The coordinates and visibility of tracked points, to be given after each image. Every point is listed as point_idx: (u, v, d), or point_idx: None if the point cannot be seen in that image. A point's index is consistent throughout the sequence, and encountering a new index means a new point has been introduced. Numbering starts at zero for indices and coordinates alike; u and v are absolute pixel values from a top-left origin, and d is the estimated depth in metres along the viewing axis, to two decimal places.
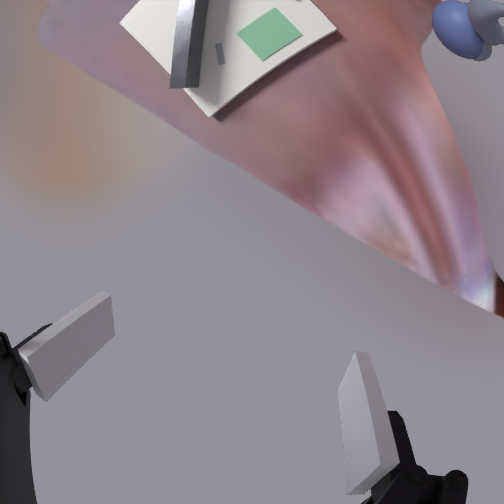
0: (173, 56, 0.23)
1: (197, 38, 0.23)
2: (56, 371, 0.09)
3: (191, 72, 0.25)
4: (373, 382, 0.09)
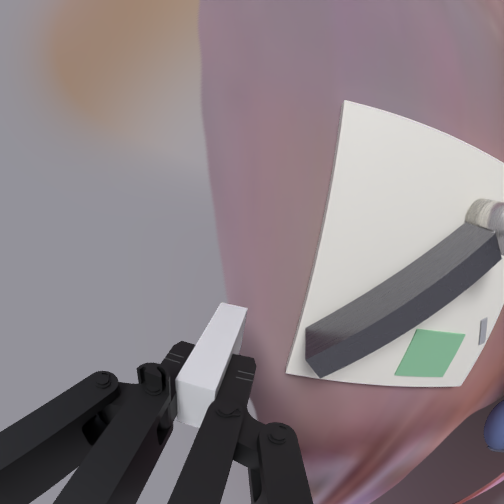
0: (363, 331, 0.15)
1: None
2: None
3: None
4: (233, 328, 0.12)
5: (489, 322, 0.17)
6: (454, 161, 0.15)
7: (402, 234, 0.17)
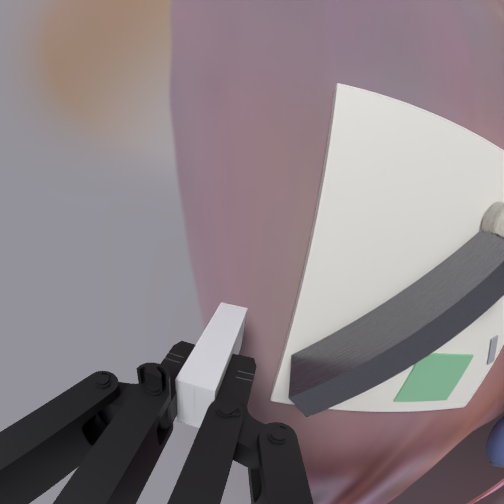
0: (358, 368, 0.12)
1: None
2: None
3: None
4: (233, 328, 0.12)
5: (499, 340, 0.14)
6: (468, 158, 0.12)
7: (408, 245, 0.14)
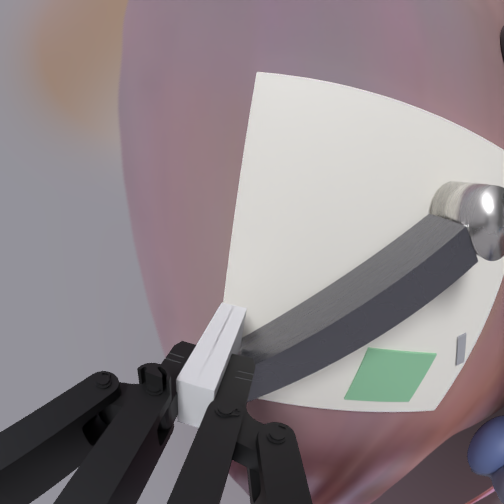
0: (272, 359, 0.12)
1: None
2: None
3: None
4: (233, 328, 0.12)
5: (469, 338, 0.15)
6: (410, 134, 0.12)
7: (338, 230, 0.15)
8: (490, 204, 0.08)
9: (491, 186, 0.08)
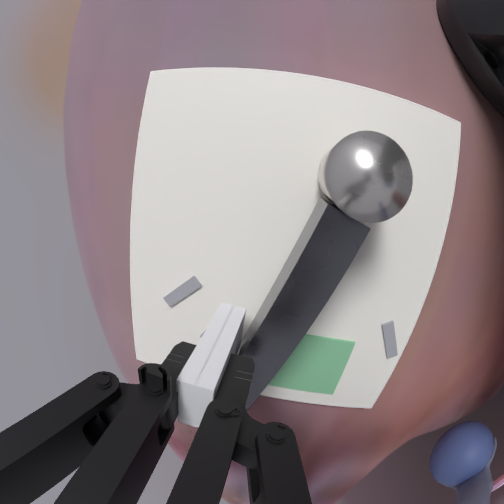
0: None
1: None
2: None
3: None
4: (232, 328, 0.12)
5: (400, 328, 0.15)
6: (291, 101, 0.13)
7: (216, 203, 0.15)
8: (347, 162, 0.09)
9: (338, 142, 0.09)
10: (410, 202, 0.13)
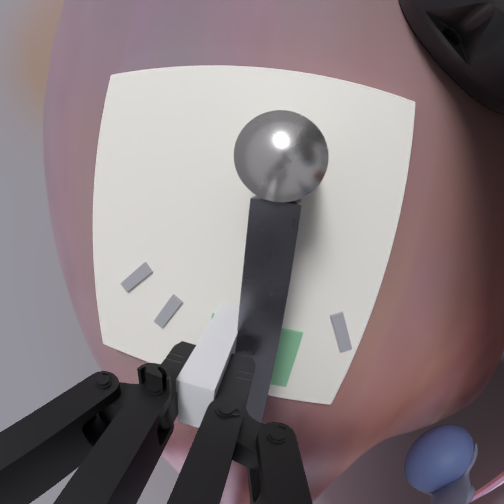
0: None
1: None
2: None
3: None
4: (233, 328, 0.12)
5: (352, 320, 0.16)
6: (229, 93, 0.13)
7: (161, 193, 0.16)
8: (252, 152, 0.10)
9: (237, 138, 0.10)
10: (354, 186, 0.14)
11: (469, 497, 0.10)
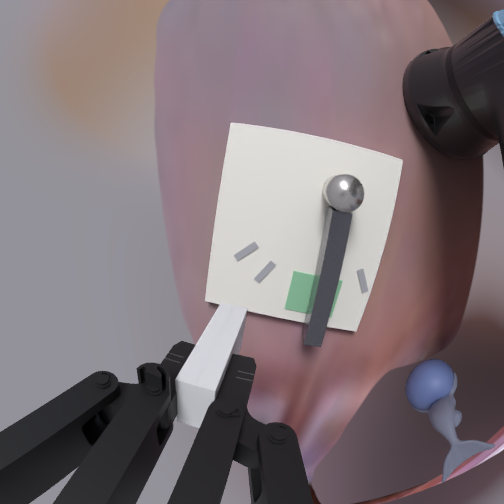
0: (312, 314, 0.28)
1: None
2: None
3: None
4: (233, 328, 0.12)
5: (368, 273, 0.30)
6: (310, 151, 0.28)
7: (269, 202, 0.30)
8: (335, 191, 0.24)
9: (329, 184, 0.24)
10: (369, 204, 0.28)
11: (457, 417, 0.24)
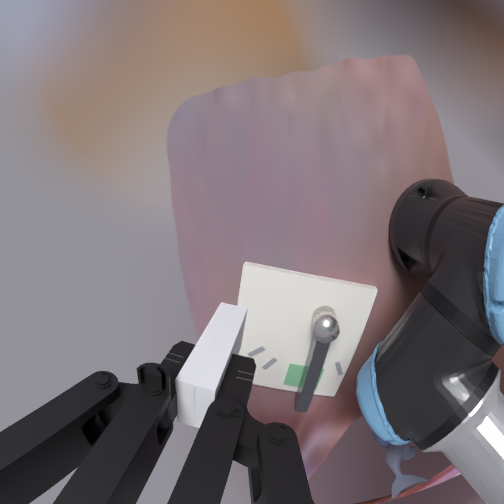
0: (301, 395, 0.38)
1: None
2: None
3: None
4: (233, 328, 0.12)
5: (343, 364, 0.40)
6: (304, 289, 0.38)
7: (273, 323, 0.40)
8: (318, 331, 0.34)
9: (315, 327, 0.34)
10: (347, 322, 0.38)
11: (411, 453, 0.35)
